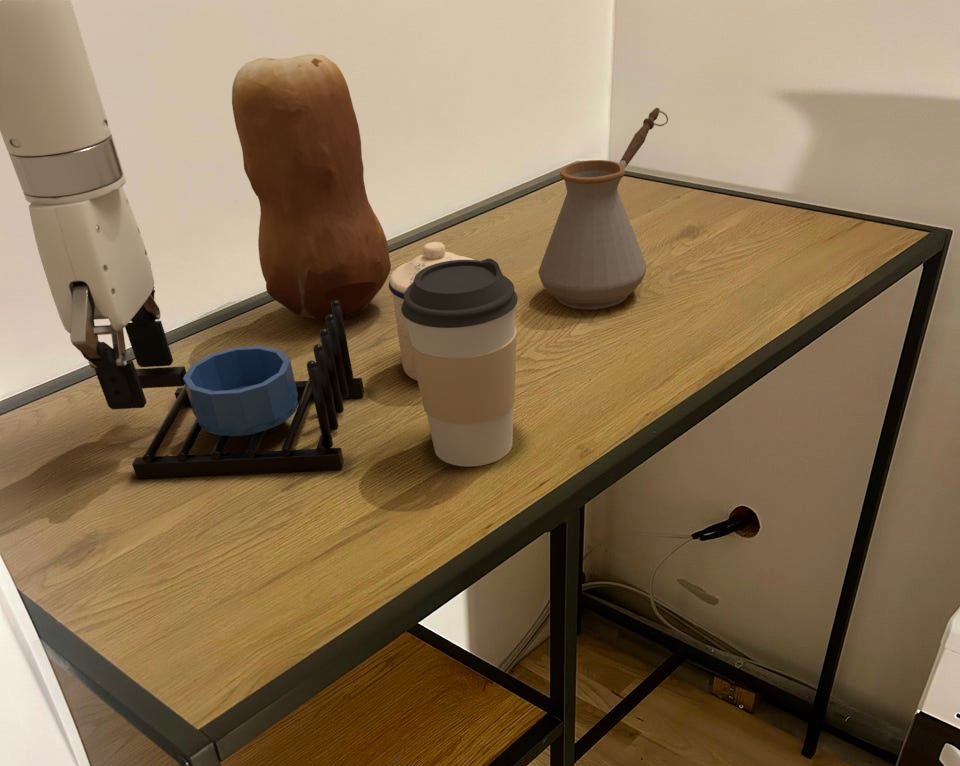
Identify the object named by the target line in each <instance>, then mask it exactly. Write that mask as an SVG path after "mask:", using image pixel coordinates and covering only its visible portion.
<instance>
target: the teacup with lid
mask: <svg viewBox="0 0 960 766" xmlns="http://www.w3.org/2000/svg"><path fill="white" fill-rule="evenodd" d="M422 251H423V253H422V254H420V255H419V254H418V256H416V257H415V258H413V259H412V260H409V261H407V262H404V263H403V264H401V265H399V266H397V268H395V269H394V270H393V272H392V273H391V275H390V276H389V281H388V289H389V291H390V293H392V294H391V295H392V301H393V307H394V314H395V321H396V322H395V323H396V327H397V328H396V329H397V335H398V343H399V350H400V356H401V357H400V358H401V363H402V364H401V365H402V369H403V371H404V373H405V374H406V375H407V376H408V377H409V378H411V379H412V380H414V381H416V382H418V380H417V376H416V372H415V367H414V363H413V358H412V354H411V350H410V345H409V336H410V335H409V330H408V325H407V321H406V318H405V316H404V315H403V314H402V311H401V307H402V304H403V302H404V293H405V291H406V289H407V288H408V287H409V286H410V285H411V284H412V283H413V281H414V278H415V276H416V274H417V273H418V272H419V271H421V270H422V269H424V268H426V267H428V266H431V265H434V264H437V263H441V262H446V261H452V260H475V258H470V257H468V256H464V255H457V254H456V253H454V252H450V251H446V245H445V244H444V243H442V242H440V241H431V242H428V243H426V244H424V246H423V248H422ZM518 312H519V301H518V302H517V304H516V306H515V319H516V317H517V315H518Z"/></svg>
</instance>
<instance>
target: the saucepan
mask: <svg viewBox="0 0 960 766" xmlns="http://www.w3.org/2000/svg"><path fill="white" fill-rule="evenodd" d="M135 369H136V372H137V375H138V378H139V381H140V384H141V387H142V389H158V388H159V389H160V388H176V387H177V388H179V387H184V386H185V387H186V390H187V394H188V397H189V400H190V403H191V410H192V413H193V415H194V417H195V420H196V419H197V422H198V424H199V426H200V427H201V428H202V430H203V431H205V432H207V433H210V434H212V435H216V436H220V435H222V436H231V437H240V436H247V435H248V436H249V435H254V433H258V432H262V431H265V430H266V431H268V430H270V429H273V428H275V427H278V426H279V425H281V424H282V423H285V422H286V421H287V420H289V419H290V418H291V417H292V416H293V415H295V413H296V410H297V408H298V405H299V401H298V400H297V397H298V392H297V388H296V383H295V381H296V379H295V375H294V371H293V367H292V362H291V359H290V358H289V357H288V355H286V354H285V352H284V351H283V350H280V349H277V348H272V347H269V346H264V345H253V346H252V345H251V346H238V347H237V346H235V347H232V348H228V349H224V350H222V351H218V352H214V353H211V354H208V355H207V356H205V357H203V358H202V359H199V360H198V361H196V362H194V363H193V364H191V365H190V366H189V367H188V369H187V370H186V366H183V365H181V366H162V367H144V368H135Z"/></svg>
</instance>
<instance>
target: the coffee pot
mask: <svg viewBox="0 0 960 766" xmlns="http://www.w3.org/2000/svg"><path fill="white" fill-rule="evenodd" d="M660 114H663V115H664V116H665V118H666V122H663V123H661V124H659V123H656V122H655V121H656V120H657V119H658V117H659V115H660ZM668 122H669V116H668V114H667V113H666V112H664V111H663V110H660V108H659V107H655V108H654V109H653V110H652V111H650V112H649V113H648V117H647V118H645V119H644V120H643V121H642V126H641V127H640V128H639V130H637V132H635V134H634V135H633V137H632V139H631V140H630V142H629V144H628V146H627V148H626V149H625V151H624V153H623V155H622V157H621V158H620V160H619V162H617V161H613V160H606V159H592V160H582V161H576V162H572V163H570V164H568V165H565V166H563V167H561V169H560V171H559V175H560V177H561V179H563V181H564V184H565V188H566V195H565V197H564V200H563V203H562V205H561V208H560V211H559V214H558V217H557V219H556V222H555V225H554V228H553V230H552V233H551V236H550V238H549V241H548V244H547V246H546V249H545V252H544V255H543V258H542V259H541V263H540V266H539V269H538V277H539V280H540V282H541V284H542V286H543V288H544V289H545V290H546V291H547V292H548V293H549V294H551V295H552V297H553V298H556V299H557V302H558V303H560V305H563V306H565V307H567V308H572V309H577V310H600V309H606V308H607V309H608V308H611V307H613V306H616V305H620V304H621V303H622V302H624V301H625V300H626V299H627V298H628V296H629V295H630V294H632V293H633V292H634V291H635V290H636V289H637V288H638V287H639V286H640V284H641V283H642V282H643V279H644V278H645V276H646V272H647V263H646V260H645V257H644V255H643V252H642V249H641V247H640V245H639V242H638V239H637V237H636V234H635V231H634V229H633V226H632V224H631V221H630V219H629V215H628V214H627V211H626V209H625V206H624V203H623V200H622V198H621V195H620V192H619V191H618V188H619V184H620V182H621V180H622V178H624V176H625V173H626V167H627V166H628V165H629V163H630V162H631V161H632V159H634V157H635V156H636V154H637V153H638V152H639V150H640V148H641V147H642V146H643V145H644V143H645V141H646V138H647V137H648V134H649V131H651V130H652V129H653V128H654V127H655V126H657V127H664V126H665V125H666V124H668Z"/></svg>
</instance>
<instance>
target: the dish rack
mask: <svg viewBox="0 0 960 766" xmlns="http://www.w3.org/2000/svg"><path fill="white" fill-rule="evenodd" d="M331 307H332V312H333V315H332V314H328V315H326V318H324V319H325V324H326V328H321V329H320V330H319V338H320V343H321V344H320V343H315V344H314V345H313V348H312V350H313V355H314V358H315V360H309V361H307V363H306V371H307V374H308V379H307V380H295V383H296V388H297V392H298V397H297V400H298V406H297V409H296V411H295V412H294V414H293V415H294V416H293V418H292V421H291V423H290V426H289V428H288V431H287V434H286V435H285V439H284V441H283V444H282V446H281V449H280V450H259V448H260V446H261V443H262V441H263V438H264V436H265V434H266V431H267V430H265V431H262V432H258V433H254V434H252V437H251V440H250V441H249V444H248V447H247V449H246V451H240V452H224V451H225V449H226V447H227V445H228V443H229V441H230V438H231V437H232V436H222V435H219V437H218V438H217V441H216V443H215V445H214V446H213V450H212V451H211V453H200V454H199V453H198V454H190V453H191V451H192V449H193V447H194V446H195V443H196V441H197V439H199V438H198V437H199V436H200V434H201V432H202V430H203V429H202V428H201V427H200V426H199V424H198V422H197V419H196V418H195V421H194V423H193V424H192V426H191V428H190V429H189V432H188V434H187V435H186V437H185V439H184V440H183V443H182V445H181V446H180V449H179V450H178V452H177V454H176V455H158V456H157V455H156V454H158V451H159V449H160V448H161V446H162V444H163V442H164V441H165V439H166V437H167V435H168V434H169V432H170V430H171V429H172V427H173V425H174V423H175V422H176V420H177V419H178V417H179V415H180V413H181V412H182V409H183V408H190V407H191V403H190V400H189V397H188V394H187V390H186V387H185V385H184V386H181V387H177V388H176V389H175V392H174V396H175V401H174V403H173V405H172V407H171V408H170V410H169V411H168V413H167V414H166V416H165V418H164V420H163V421H162V423H161V425H160V426H159V429H158V430H157V432H156V433H155V434H154V437H153V438H152V440H151V441H150V443H149V445H148V447H147V449H146V450H145V452H144V453H143V455H142V456H136V457H135V458H134V460H133V462H132V463H131V465H132V468H133V471H134V474H135V476H136V477H135V478H136V479H138V480H142V479H144V480H145V479H164V478H185V477H206V476H208V477H209V476H227V475H228V476H229V475H231V476H232V475H249V474H250V475H251V474H272V473H274V474H275V473H294V472H295V473H297V472H315V471H316V472H317V471H338V470H340V471H341V470H342V469H343V467H344V463H345V460H344V456H343V451H342V450H343V449H342V447H333V445H334V442H333V436H332V432H333V431H337V430H339V421H338V417H337V416H338V414H342V413H344V410H345V408H344V402H343V400H344V399H361V398H362V399H363V397H364V394H365V388H364V382H363V381H364V380H363V378H362V377H354V373H353V367H352V363H351V356H350V351H349V346H348V339H347V334H346V329H345V328H346V327H345V323H344V319H343V317H342V312H341V306H340V302H339V301H338V300H333V301H332V302H331ZM311 401H313V402H314V407H315V412H316V416H317V421H318V425H319V426H318V427H319V431H320V436H319V439H318V442H317V445H316V448H303V449H302V448H301V449H300V448H299V449H293V448H294V444H295V442H296V439H297V436H298V434H299V431H300V429H301V426H302V423H303V421H304V419H305V415H306V413H307V410H308V407H309V404H310V402H311ZM191 408H192V407H191Z"/></svg>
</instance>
